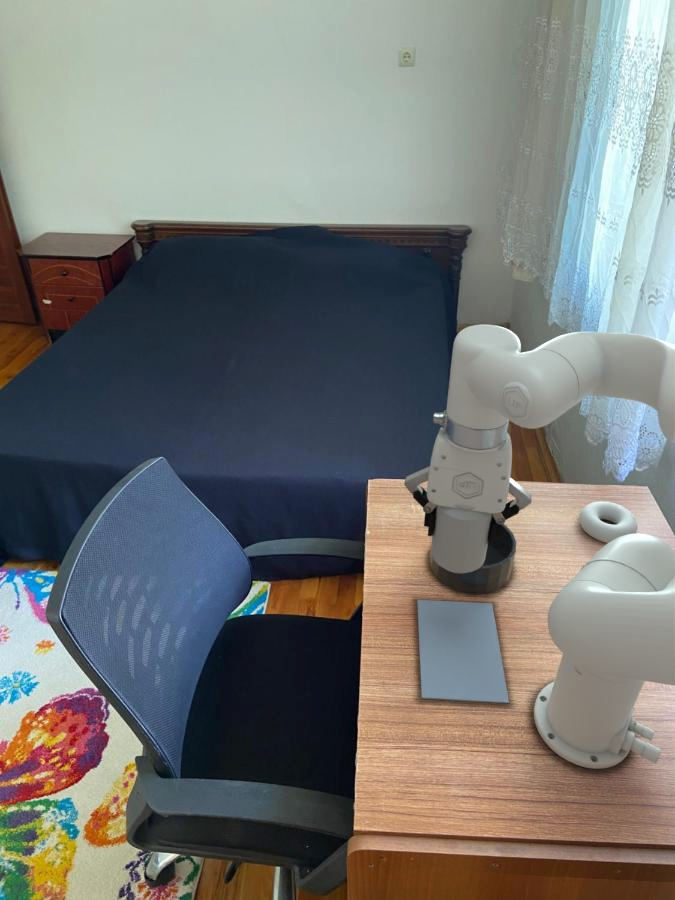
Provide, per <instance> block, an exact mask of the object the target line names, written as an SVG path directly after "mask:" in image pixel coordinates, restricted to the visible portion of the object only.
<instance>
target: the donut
mask: <svg viewBox="0 0 675 900" xmlns="http://www.w3.org/2000/svg"><path fill="white" fill-rule="evenodd" d="M602 520H607V521H610V522H612V523H614V524H610V523H607V522H604V521H602ZM579 523H580V526H581V527H582V529H583V531H584V532H586V533H587V535H589V536H590V537H591V538H594V540H597V541H600V542H603V543H606V544H608V543H609V542H611V541H612V540H614V539H616V538H618V537H620V536H623V535H628V534H634V533H637V532H638V523H637V518H636V517H635V516H634V514H633V513H632V512H631V511H630V510H629V509H628V508H626V507H625V506H623V505H621V504H618V503H614V502H611V501H605V500H603V501H602V500H599V501H593V502H591V503H587V505H585V506H584V507H583V508H582V510H581V511H580V514H579Z"/></svg>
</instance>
